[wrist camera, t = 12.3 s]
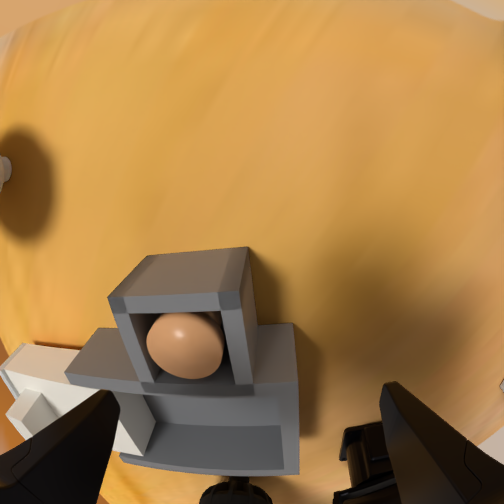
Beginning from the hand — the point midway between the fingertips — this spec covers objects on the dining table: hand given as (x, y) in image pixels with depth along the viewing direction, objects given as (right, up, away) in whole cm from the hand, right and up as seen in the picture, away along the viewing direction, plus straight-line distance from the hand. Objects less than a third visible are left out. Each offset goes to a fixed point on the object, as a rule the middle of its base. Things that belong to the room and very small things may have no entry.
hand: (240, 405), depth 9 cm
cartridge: (-16, -8, +15) cm, 24 cm away
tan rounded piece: (-3, +1, +11) cm, 11 cm away
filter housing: (-4, -4, +15) cm, 16 cm away
